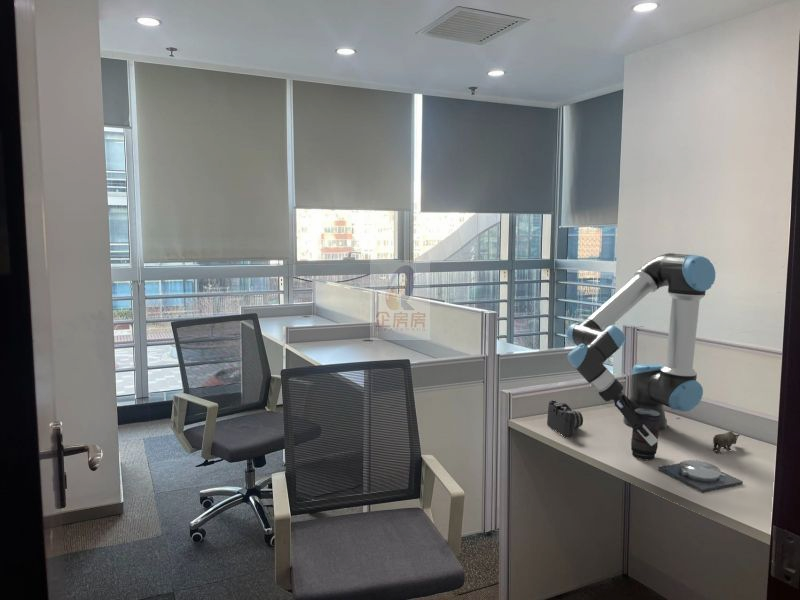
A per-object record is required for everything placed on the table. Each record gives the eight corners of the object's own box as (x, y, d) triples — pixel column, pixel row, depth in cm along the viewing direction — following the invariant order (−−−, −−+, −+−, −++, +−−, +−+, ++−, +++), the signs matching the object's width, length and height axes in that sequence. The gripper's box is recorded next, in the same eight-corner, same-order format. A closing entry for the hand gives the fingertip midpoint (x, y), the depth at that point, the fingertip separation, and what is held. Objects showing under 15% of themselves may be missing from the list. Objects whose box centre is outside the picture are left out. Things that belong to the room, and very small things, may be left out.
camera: (591, 436, 207) (593, 409, 206) (564, 438, 204) (566, 411, 203) (569, 422, 221) (570, 397, 219) (543, 424, 218) (545, 399, 216)
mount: (696, 463, 185) (697, 454, 185) (742, 484, 170) (743, 474, 170) (657, 470, 179) (658, 460, 179) (702, 492, 164) (703, 482, 164)
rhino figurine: (743, 447, 200) (745, 430, 199) (720, 455, 193) (722, 437, 192) (731, 443, 203) (733, 426, 202) (708, 450, 196) (710, 433, 195)
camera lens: (659, 462, 185) (663, 416, 183) (632, 459, 187) (636, 414, 185) (653, 452, 193) (657, 408, 191) (628, 450, 195) (631, 406, 193)
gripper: (597, 382, 204) (640, 429, 201) (597, 403, 180) (646, 456, 178) (614, 369, 201) (658, 416, 199) (617, 388, 178) (666, 442, 175)
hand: (652, 435), depth 188 cm, fingers open, 13 cm apart
